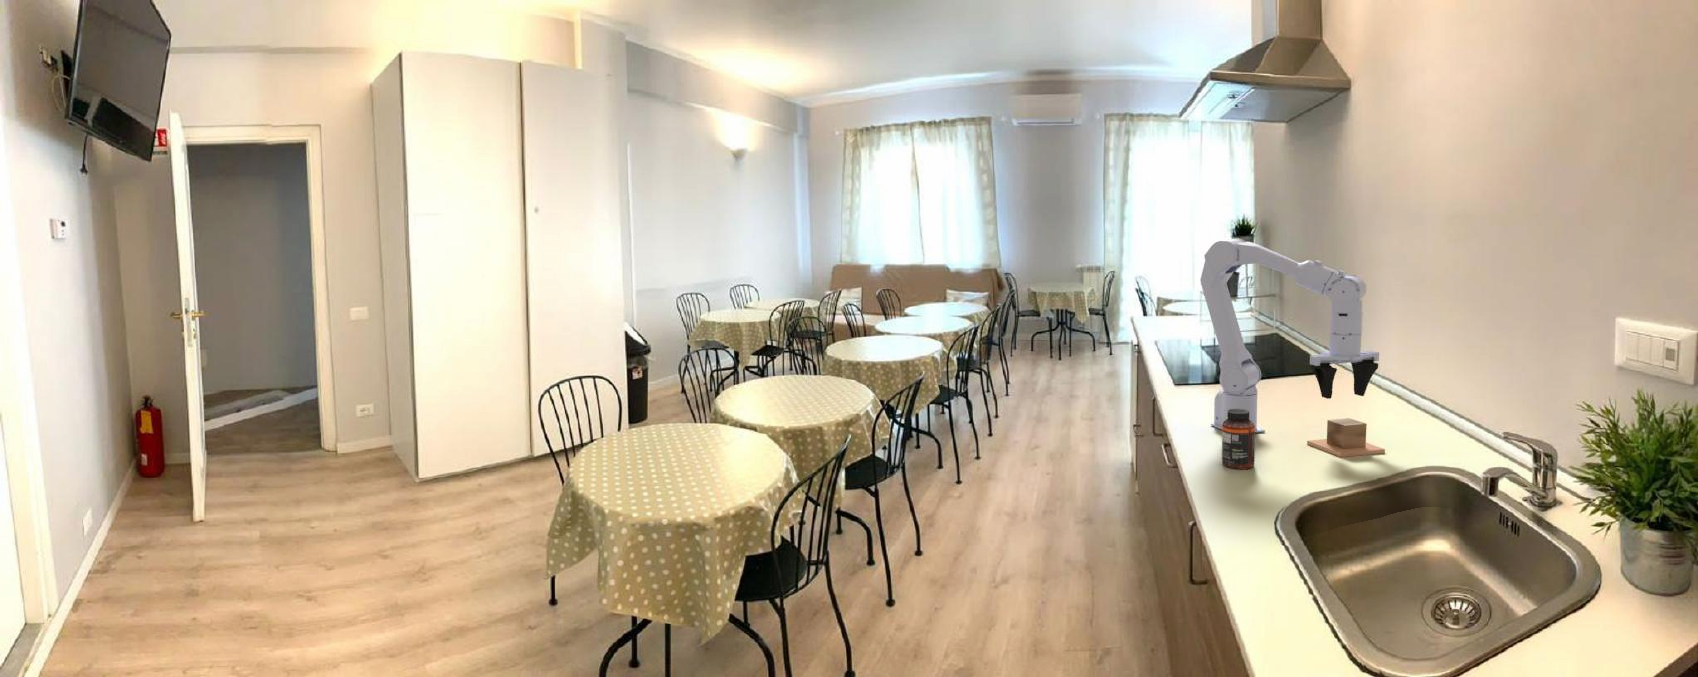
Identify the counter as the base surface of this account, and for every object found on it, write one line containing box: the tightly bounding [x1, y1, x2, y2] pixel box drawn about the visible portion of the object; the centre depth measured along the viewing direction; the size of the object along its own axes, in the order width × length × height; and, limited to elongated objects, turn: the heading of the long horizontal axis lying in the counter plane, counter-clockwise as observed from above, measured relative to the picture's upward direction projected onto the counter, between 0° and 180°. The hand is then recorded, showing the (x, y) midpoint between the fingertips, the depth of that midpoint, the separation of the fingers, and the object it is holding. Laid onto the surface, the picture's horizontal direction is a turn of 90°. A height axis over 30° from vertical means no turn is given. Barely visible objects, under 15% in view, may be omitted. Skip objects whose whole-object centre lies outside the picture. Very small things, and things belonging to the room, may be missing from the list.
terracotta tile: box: [1306, 438, 1386, 458], centre depth 175 cm, size 10×10×1 cm
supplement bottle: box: [1221, 409, 1256, 470], centre depth 167 cm, size 6×6×11 cm
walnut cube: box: [1326, 417, 1367, 449], centre depth 175 cm, size 5×5×5 cm
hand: (1342, 396), depth 177 cm, fingers open, 7 cm apart
